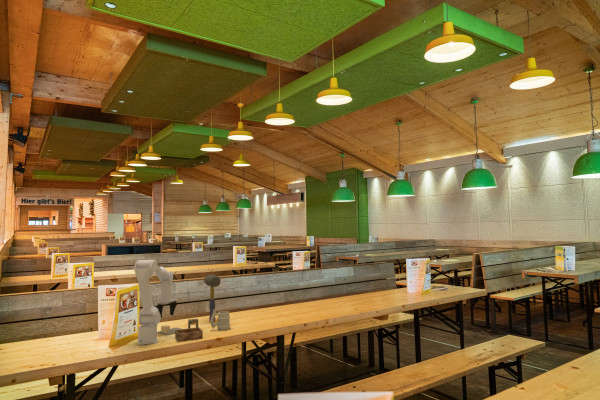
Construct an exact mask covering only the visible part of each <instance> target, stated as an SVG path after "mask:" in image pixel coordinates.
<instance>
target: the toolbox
mask: <svg viewBox="0 0 600 400" xmlns="http://www.w3.org/2000/svg"><path fill="white" fill-rule="evenodd" d="M188 319H189V320H188V321H187V325H188V326H187V328H181V329H179V330H175V333H174V335H175V336H174V337H175V339H176V341H177V342H178V343H180V342H186V341H187V342H188V341H195V340H202V338H203V335H204V334H203V330H202V329H201V327H199V319H198V318H188ZM194 321H196V322H197V324H195V327H191V324H190V322H194Z"/></svg>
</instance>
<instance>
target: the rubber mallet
mask: <svg viewBox="0 0 600 400" xmlns="http://www.w3.org/2000/svg"><path fill="white" fill-rule="evenodd" d="M204 284H205V285H206V286H208V287H209V289H210V291H209V292H210V294H209V297H210V298H209V302H208V303H209V305H208V308H209V318H208V320H209V323H211V321H210V320H211V317H212V314H213V310H215V311H216V299H215V288H217V287H218V286H220V285H221V278H220V277H219V276H217V275H216V274H215V275H214V274H207V275H206V276H205V277H204ZM215 321H216V317H215V318H214V322H215Z"/></svg>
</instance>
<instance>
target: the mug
mask: <svg viewBox="0 0 600 400" xmlns="http://www.w3.org/2000/svg"><path fill="white" fill-rule="evenodd" d="M217 316H218V317H217ZM216 317H217V322H215V321H214V318H215V319H216ZM230 318H231V316H230V311H227V310H226V311H225V310H223V311H222V310H221V311H218V313H217V311H216V309H215V310H213V314H212V317H211V320H210V321H211V322H210V321H209V322H210V326H211V328H212V329H215V328H216V327H217V330H218V331H228V330H230V329H231V324H230V323H231V322H230V320H231V319H230Z"/></svg>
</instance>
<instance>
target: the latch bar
mask: <svg viewBox="0 0 600 400" xmlns="http://www.w3.org/2000/svg"><path fill="white" fill-rule="evenodd" d="M189 319H190V318H188V320H189ZM196 324H197V322H196V321H194V322H190V326H194V325H195V326H196Z"/></svg>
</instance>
